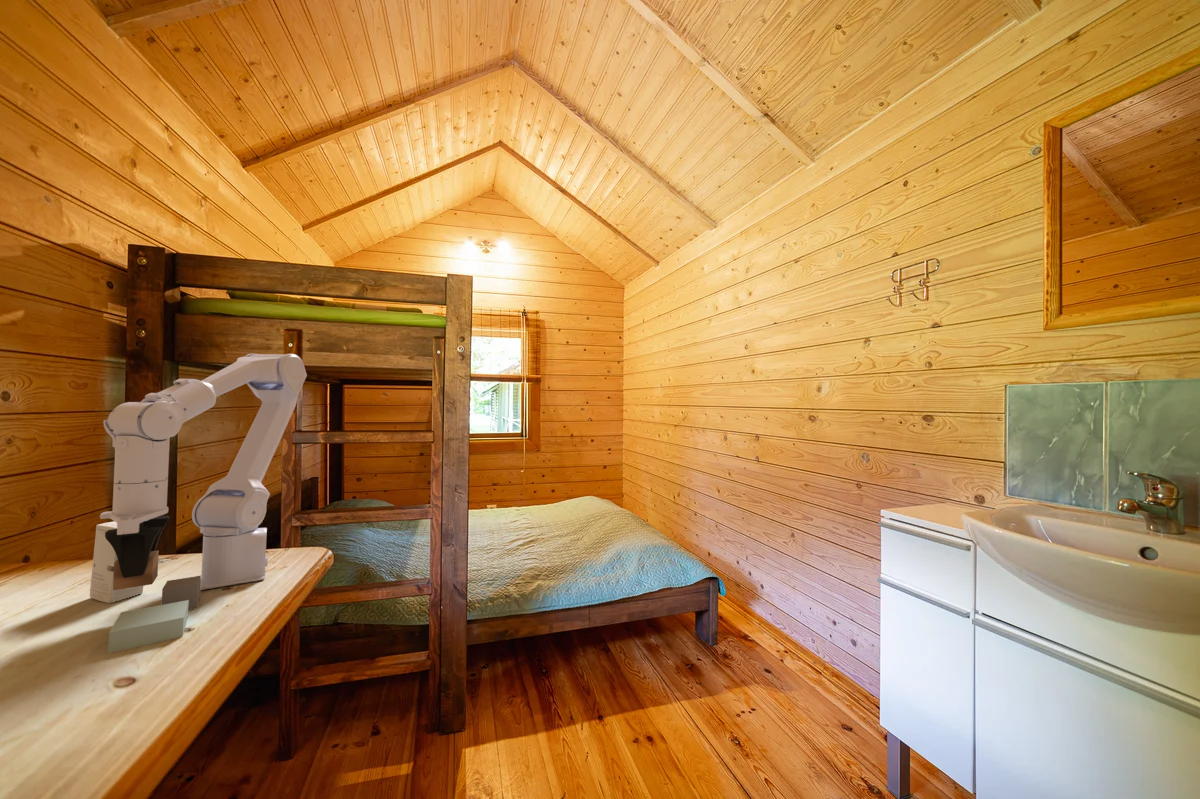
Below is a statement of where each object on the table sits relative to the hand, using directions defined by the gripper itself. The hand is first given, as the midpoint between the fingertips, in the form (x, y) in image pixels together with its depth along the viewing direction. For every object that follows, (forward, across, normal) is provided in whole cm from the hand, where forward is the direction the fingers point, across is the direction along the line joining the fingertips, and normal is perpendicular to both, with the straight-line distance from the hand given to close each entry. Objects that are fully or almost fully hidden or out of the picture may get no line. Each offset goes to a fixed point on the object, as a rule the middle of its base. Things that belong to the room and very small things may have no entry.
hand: (137, 571), depth 66 cm
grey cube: (+7, -1, +5) cm, 9 cm away
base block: (+7, +8, +3) cm, 11 cm away
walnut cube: (+2, 0, 0) cm, 2 cm away
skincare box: (+7, -12, -4) cm, 14 cm away
